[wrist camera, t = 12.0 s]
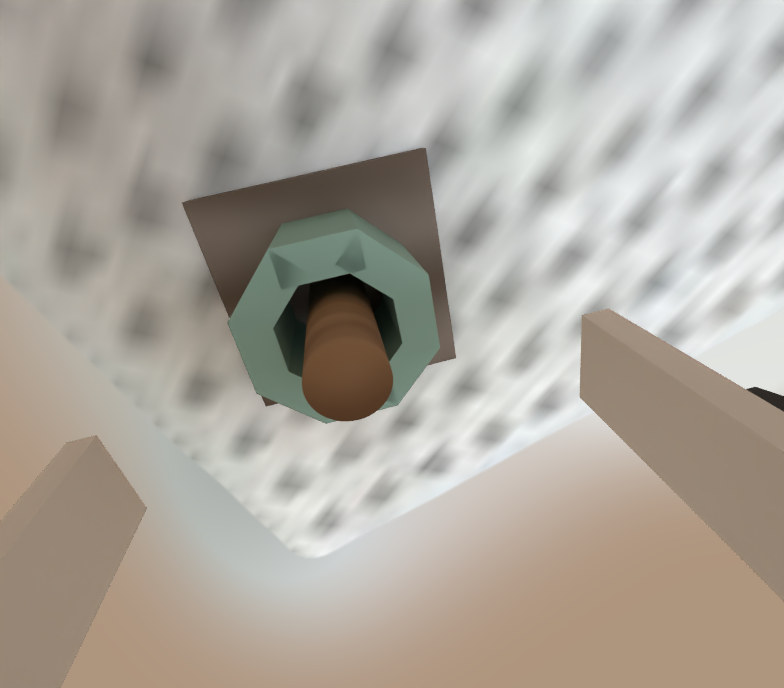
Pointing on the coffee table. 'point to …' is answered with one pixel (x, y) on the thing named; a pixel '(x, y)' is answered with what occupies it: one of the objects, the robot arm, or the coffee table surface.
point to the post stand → (337, 294)
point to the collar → (322, 261)
